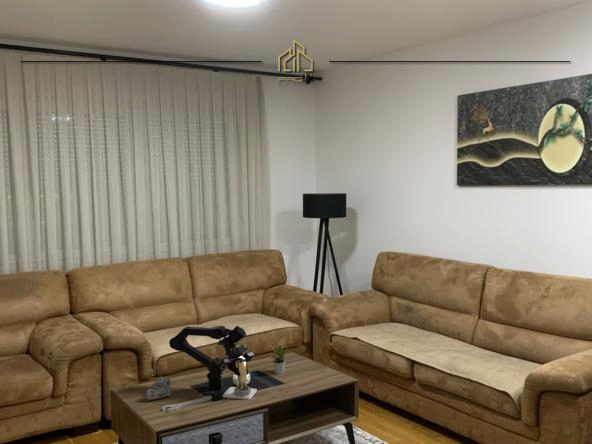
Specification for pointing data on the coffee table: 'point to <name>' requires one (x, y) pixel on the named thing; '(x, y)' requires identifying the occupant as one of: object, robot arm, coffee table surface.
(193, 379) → the coffee table surface
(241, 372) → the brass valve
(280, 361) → the house plant
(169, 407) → the adjustable wrench
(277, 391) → the coffee table surface
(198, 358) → the robot arm
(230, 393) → the pipe plate
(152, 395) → the mineral rock
